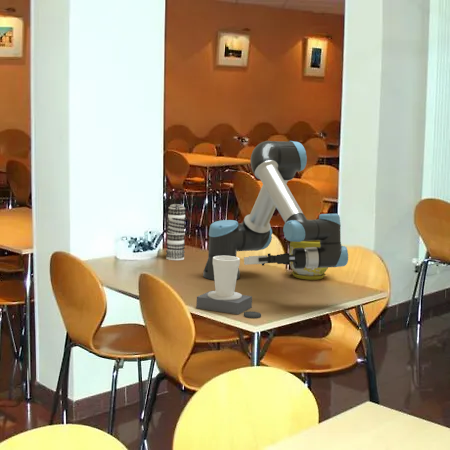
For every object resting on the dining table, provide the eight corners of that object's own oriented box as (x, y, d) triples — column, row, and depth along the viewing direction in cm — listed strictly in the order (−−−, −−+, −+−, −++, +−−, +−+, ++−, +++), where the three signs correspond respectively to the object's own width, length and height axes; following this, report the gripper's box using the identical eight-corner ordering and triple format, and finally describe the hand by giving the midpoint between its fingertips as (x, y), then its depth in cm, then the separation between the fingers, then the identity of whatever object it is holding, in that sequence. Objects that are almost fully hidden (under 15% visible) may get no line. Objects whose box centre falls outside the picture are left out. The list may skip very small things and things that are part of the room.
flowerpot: (278, 275, 349) (280, 237, 347) (303, 270, 362) (306, 234, 360) (313, 283, 337) (315, 243, 335) (337, 277, 351) (340, 239, 348)
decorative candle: (189, 258, 380) (191, 204, 376) (177, 261, 372) (179, 206, 368) (172, 255, 384) (174, 202, 380) (161, 258, 376) (162, 204, 373)
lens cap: (240, 317, 280) (240, 314, 280) (248, 313, 285) (248, 310, 285) (256, 320, 277) (256, 316, 277) (263, 316, 282) (264, 313, 282)
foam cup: (235, 298, 285) (236, 261, 283) (209, 296, 287) (210, 259, 285) (240, 292, 294) (241, 256, 292) (214, 290, 296) (216, 254, 294)
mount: (196, 307, 289) (196, 294, 288) (211, 301, 300) (211, 288, 299) (237, 314, 282) (238, 300, 282) (251, 307, 293) (252, 294, 292)
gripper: (312, 267, 284) (251, 270, 282) (298, 268, 309) (242, 271, 307) (311, 246, 285) (250, 248, 283) (297, 248, 310) (241, 251, 308)
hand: (246, 260), depth 295 cm, fingers open, 13 cm apart
